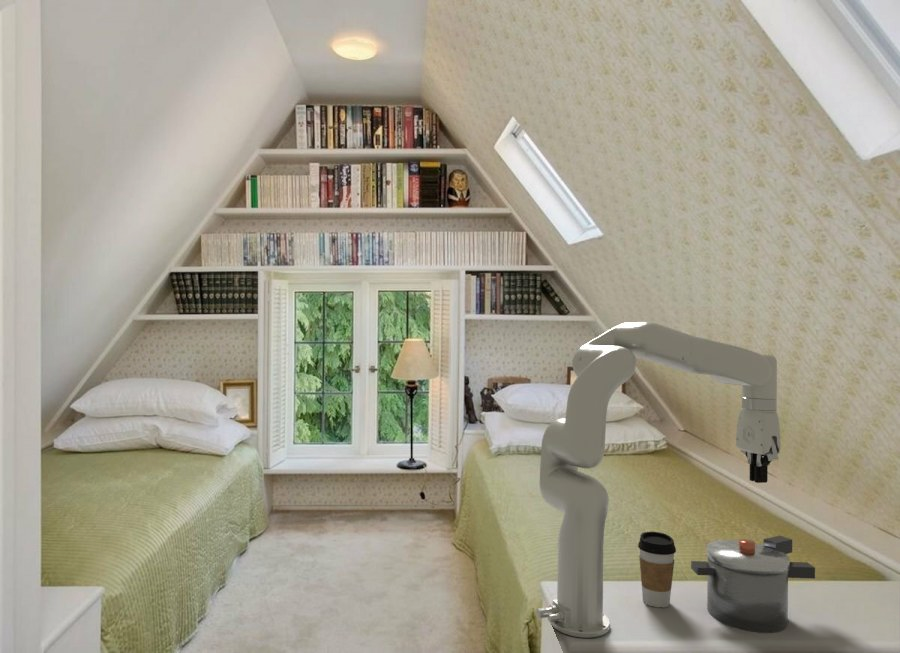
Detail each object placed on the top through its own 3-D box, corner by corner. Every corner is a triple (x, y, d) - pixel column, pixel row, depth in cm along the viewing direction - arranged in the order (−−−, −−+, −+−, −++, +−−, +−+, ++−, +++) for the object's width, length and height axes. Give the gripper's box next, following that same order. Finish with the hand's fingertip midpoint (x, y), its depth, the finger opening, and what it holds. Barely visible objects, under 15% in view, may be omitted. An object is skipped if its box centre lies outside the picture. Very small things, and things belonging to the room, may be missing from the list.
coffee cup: (670, 595, 143) (670, 532, 143) (680, 611, 134) (680, 544, 134) (633, 593, 143) (634, 530, 144) (641, 609, 135) (642, 542, 135)
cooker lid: (757, 579, 122) (757, 559, 122) (690, 553, 137) (690, 535, 137) (822, 562, 132) (822, 544, 132) (753, 539, 147) (753, 523, 147)
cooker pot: (707, 630, 125) (708, 572, 126) (681, 597, 141) (681, 546, 142) (832, 635, 124) (832, 577, 125) (791, 601, 140) (791, 549, 141)
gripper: (724, 402, 152) (723, 474, 151) (769, 409, 137) (768, 490, 136) (749, 401, 153) (749, 474, 153) (797, 408, 138) (796, 488, 138)
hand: (758, 481), depth 145 cm, fingers closed
